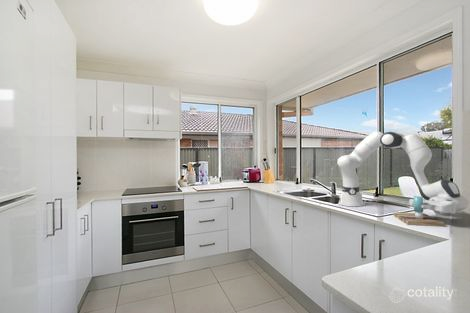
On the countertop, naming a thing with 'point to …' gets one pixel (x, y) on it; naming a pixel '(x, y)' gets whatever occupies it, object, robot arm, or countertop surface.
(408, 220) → the board
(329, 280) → the countertop surface
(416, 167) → the robot arm
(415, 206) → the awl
